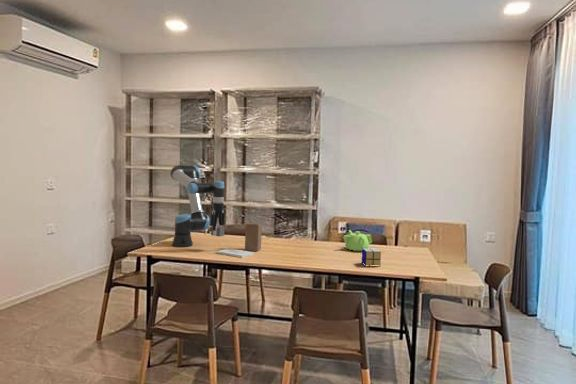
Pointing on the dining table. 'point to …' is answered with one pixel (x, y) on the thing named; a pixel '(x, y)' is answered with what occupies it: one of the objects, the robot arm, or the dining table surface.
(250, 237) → the wooden block
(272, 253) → the dining table surface
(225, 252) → the board
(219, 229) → the sanding block
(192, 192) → the robot arm
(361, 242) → the teapot
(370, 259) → the puzzle cube
